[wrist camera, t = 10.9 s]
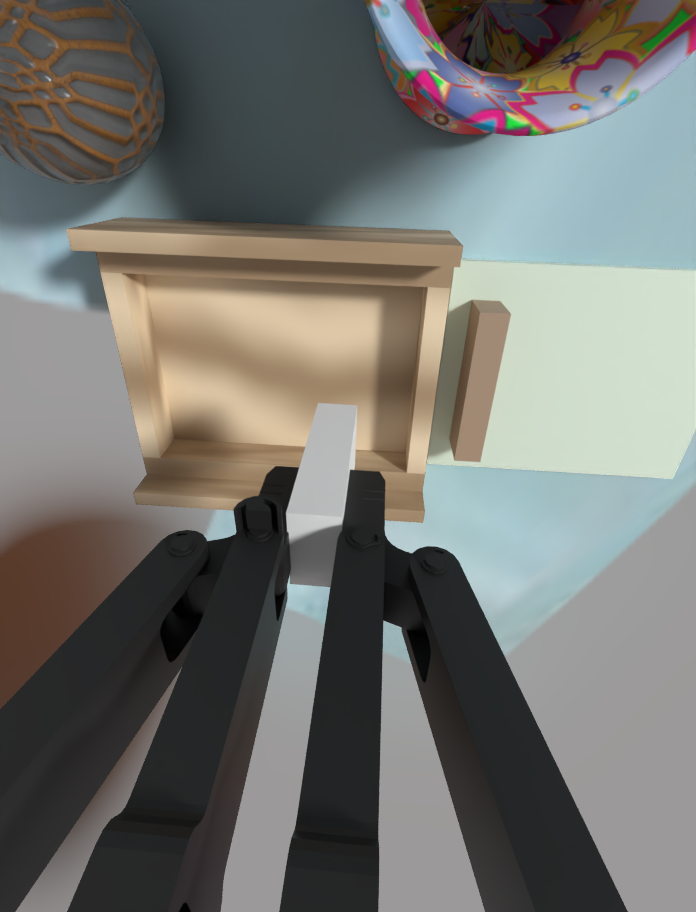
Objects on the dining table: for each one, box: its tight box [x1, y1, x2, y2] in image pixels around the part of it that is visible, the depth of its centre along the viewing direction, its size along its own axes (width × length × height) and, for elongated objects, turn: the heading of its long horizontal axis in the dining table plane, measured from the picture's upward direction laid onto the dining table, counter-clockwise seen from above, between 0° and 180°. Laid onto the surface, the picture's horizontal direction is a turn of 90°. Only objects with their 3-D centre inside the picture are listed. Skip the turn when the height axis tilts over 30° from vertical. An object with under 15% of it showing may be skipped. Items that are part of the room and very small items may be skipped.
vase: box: [0, 0, 165, 185], centre depth 17 cm, size 7×7×9 cm
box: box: [66, 217, 463, 523], centre depth 25 cm, size 14×16×5 cm
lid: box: [427, 258, 696, 479], centre depth 25 cm, size 12×15×4 cm
